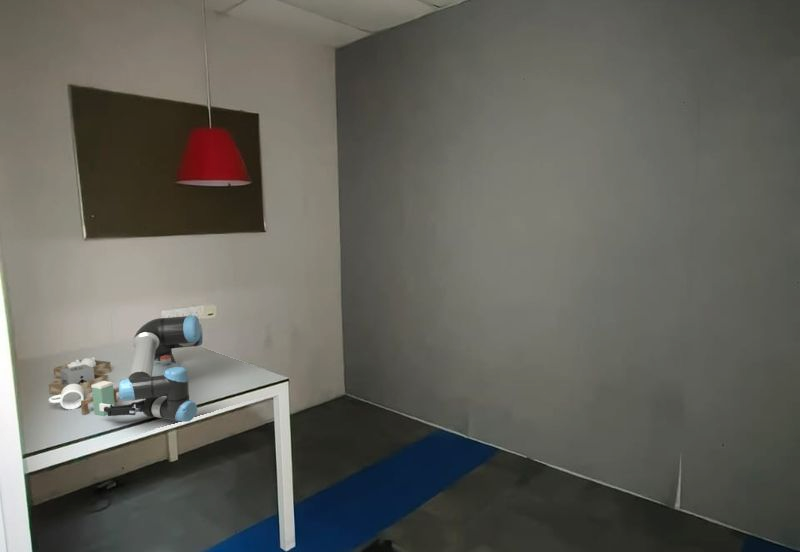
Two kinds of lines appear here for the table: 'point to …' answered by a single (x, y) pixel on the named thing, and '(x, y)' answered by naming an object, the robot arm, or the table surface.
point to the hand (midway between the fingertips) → (116, 400)
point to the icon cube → (77, 374)
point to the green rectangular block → (102, 396)
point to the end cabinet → (161, 368)
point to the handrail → (85, 402)
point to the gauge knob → (165, 359)
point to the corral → (99, 369)
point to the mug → (69, 396)
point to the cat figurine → (83, 362)
